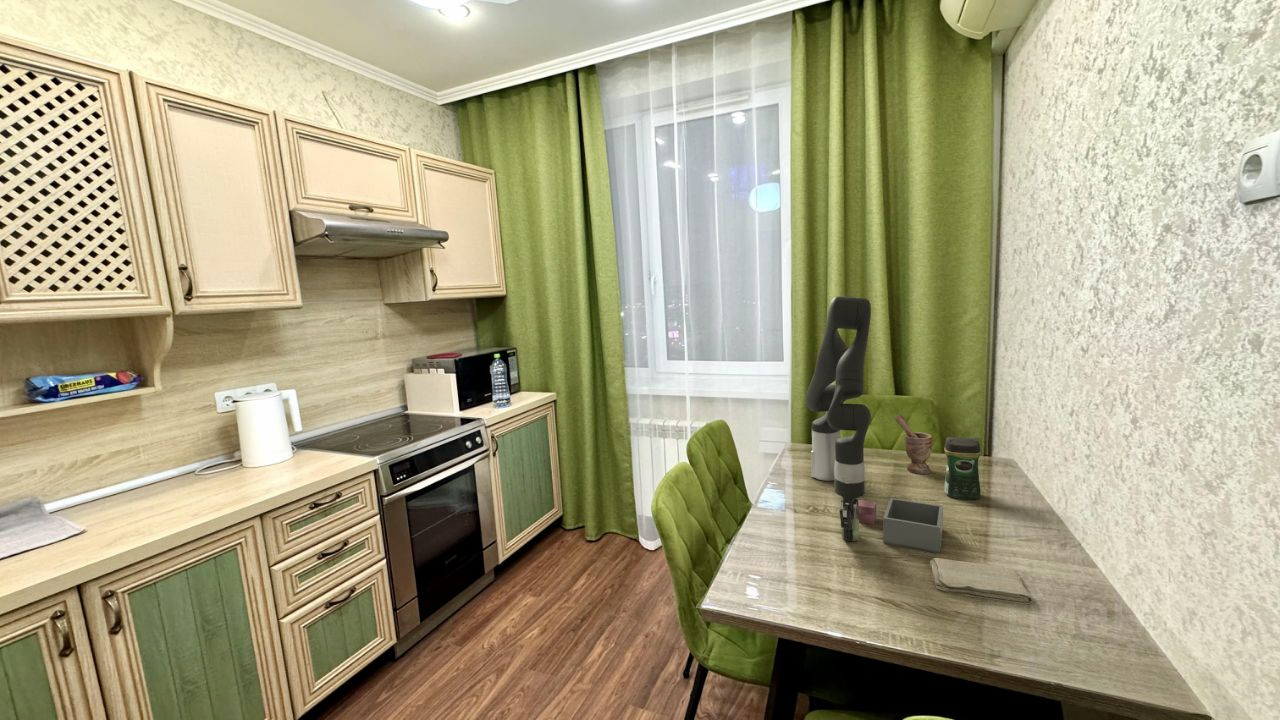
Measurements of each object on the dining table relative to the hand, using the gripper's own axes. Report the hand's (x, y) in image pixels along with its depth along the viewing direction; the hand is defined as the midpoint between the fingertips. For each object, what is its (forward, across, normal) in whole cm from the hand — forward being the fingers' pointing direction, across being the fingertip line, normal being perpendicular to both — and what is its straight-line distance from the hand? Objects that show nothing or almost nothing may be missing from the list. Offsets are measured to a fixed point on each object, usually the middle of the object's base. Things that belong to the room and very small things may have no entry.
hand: (850, 535), depth 139 cm
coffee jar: (+1, -42, +25) cm, 49 cm away
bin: (+1, -8, +15) cm, 17 cm away
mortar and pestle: (+1, -59, +10) cm, 60 cm away
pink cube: (+1, -13, +2) cm, 13 cm away
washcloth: (+1, +9, +29) cm, 30 cm away
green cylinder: (0, 0, 0) cm, 0 cm away
